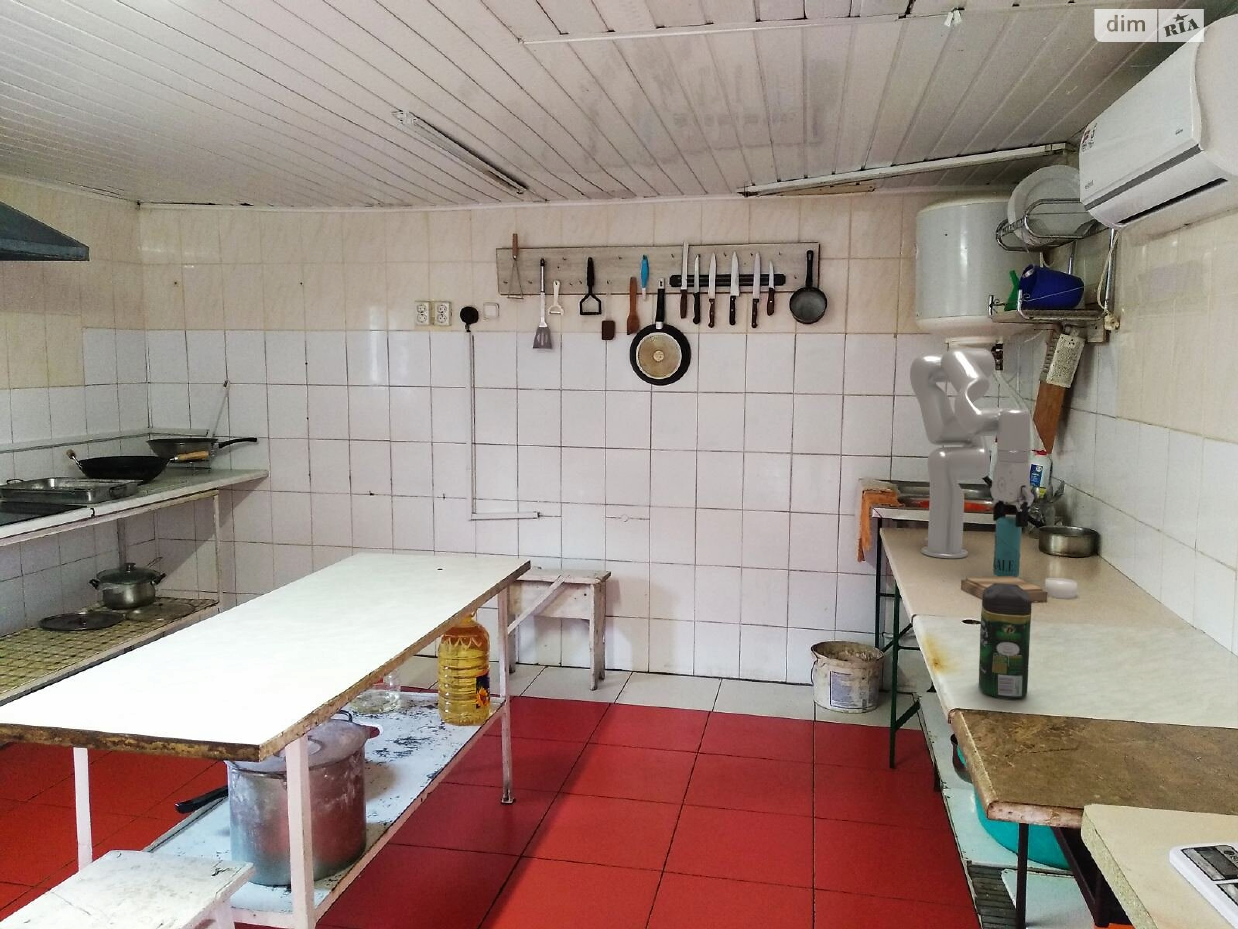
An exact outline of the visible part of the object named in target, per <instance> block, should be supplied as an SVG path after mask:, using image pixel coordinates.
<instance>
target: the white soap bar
mask: <svg viewBox="0 0 1238 929" xmlns="http://www.w3.org/2000/svg"><path fill="white" fill-rule="evenodd" d="M1044 581H1045V583H1044V591H1047V592H1048V594H1047V595H1048V596H1047V597H1050V596H1052V597H1051V598H1053V597H1055V598H1054V599H1060V598H1061V599H1062V600H1073V598H1074V599H1076V598H1077V591H1078V582H1077V581H1076V580H1074V579H1069V578H1064V577H1046V578H1045V580H1044ZM1075 597H1076V598H1075Z"/></svg>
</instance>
